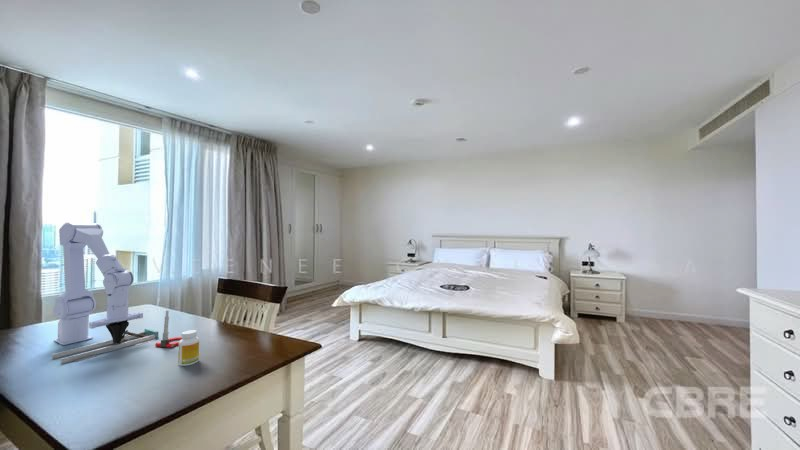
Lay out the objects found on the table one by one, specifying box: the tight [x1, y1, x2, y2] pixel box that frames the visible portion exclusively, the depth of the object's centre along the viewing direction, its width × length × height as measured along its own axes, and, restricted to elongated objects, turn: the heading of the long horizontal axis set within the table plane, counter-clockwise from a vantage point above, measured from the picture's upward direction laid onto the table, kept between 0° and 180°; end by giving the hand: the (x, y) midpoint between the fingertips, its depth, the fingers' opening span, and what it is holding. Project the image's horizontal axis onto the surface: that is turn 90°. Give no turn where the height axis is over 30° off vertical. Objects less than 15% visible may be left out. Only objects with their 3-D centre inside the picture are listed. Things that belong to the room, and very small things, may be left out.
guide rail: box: [51, 327, 159, 365], centre depth 108 cm, size 10×26×2 cm, turn 153°
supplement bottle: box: [177, 329, 200, 367], centre depth 97 cm, size 5×5×10 cm
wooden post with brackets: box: [121, 329, 148, 342], centre depth 114 cm, size 2×8×4 cm, turn 124°
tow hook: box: [154, 310, 182, 349], centre depth 114 cm, size 8×13×9 cm
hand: (116, 343), depth 110 cm, fingers closed
